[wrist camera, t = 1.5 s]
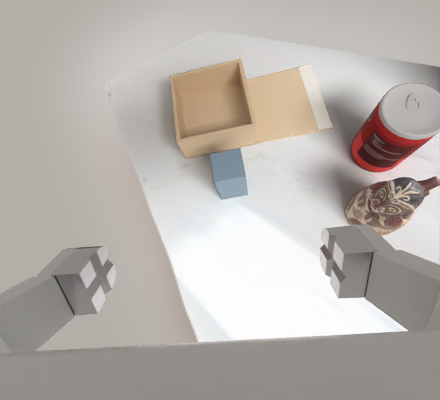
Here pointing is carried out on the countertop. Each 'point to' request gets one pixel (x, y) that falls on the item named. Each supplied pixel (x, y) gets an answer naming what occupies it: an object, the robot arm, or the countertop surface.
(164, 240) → the countertop surface
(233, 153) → the blue rectangular block
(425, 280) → the robot arm
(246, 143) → the mailer box
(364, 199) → the figurine
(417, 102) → the canned food
